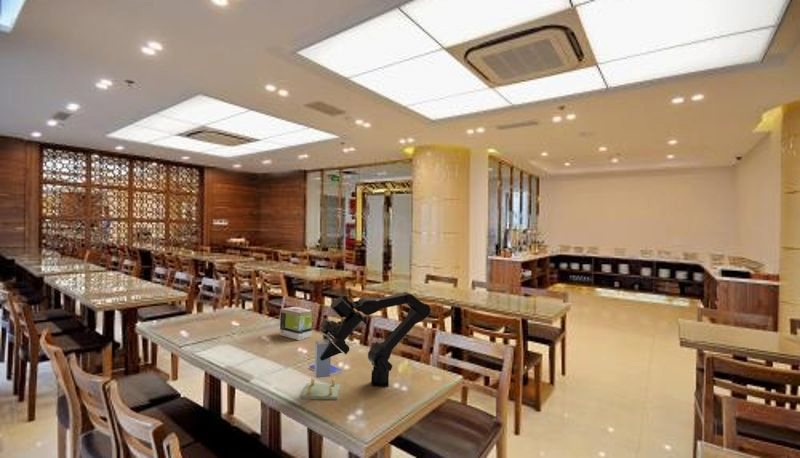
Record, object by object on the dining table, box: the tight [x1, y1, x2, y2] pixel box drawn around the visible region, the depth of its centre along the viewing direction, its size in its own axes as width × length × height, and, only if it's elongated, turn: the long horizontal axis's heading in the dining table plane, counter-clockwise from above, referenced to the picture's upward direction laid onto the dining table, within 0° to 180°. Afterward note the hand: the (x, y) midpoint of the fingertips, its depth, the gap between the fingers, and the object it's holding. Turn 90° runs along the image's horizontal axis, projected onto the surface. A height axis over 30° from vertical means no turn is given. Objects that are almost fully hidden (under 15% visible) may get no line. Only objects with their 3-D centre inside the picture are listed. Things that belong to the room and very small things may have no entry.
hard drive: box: [308, 364, 343, 377], centre depth 167 cm, size 2×8×12 cm
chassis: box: [300, 377, 341, 400], centre depth 145 cm, size 13×11×4 cm
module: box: [314, 338, 332, 379], centre depth 145 cm, size 5×5×13 cm
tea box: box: [279, 306, 313, 341], centre depth 214 cm, size 15×10×15 cm
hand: (319, 357), depth 145 cm, fingers closed on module, 5 cm apart
